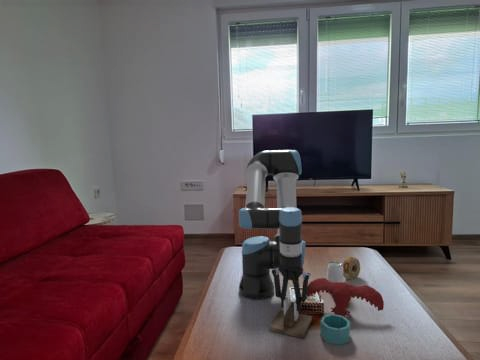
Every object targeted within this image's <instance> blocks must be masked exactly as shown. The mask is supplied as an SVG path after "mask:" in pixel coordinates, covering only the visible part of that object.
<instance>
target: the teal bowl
mask: <svg viewBox="0 0 480 360" xmlns="http://www.w3.org/2000/svg"><path fill="white" fill-rule="evenodd" d="M321 317H322V318H321V320H320V337H321V338H322V339H323V340H325V342H326V343H330V344H333V345H337V346H340V345H344V344H347V343H349V341H350V338H351V321H350V319H347V317H346V318H345V317H344V316H340V315H335V314H334V313H330V314H326V315H325V314H324V315H322V316H321Z"/></svg>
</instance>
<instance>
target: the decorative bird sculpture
mask: <svg viewBox="0 0 480 360" xmlns="http://www.w3.org/2000/svg"><path fill="white" fill-rule="evenodd" d="M320 292H321V293H323V294H324V292H325V293H326V294H330V295H332V298H333V301H334V302H333V303H335V307H330V310H331V313H333V314H335V315H340V316H344V317H345V318H346V319H347V317H346V316H349V314H351V312H350V311H349V310H348V308H349V307H350V306H349V304H350V302H351V300H352V299H355V298H356V299H357V300H358V299H360V300H361V301H363V300H364V299H365V301H366V303H369V304H370V306H374V308H377V311H378V312H380V311H383V310H384V305H385V303H384V302H385V301H384V298H383V296H382V294H381V293H380V292H379V291H377V290H376V289H375V288H374V287H371V286H369V285H367V284H363V285H359V286H358V285H352V284H350V283H347V282H345V281H343V282H330V281H328V280H327V278H325V277H321V278H316V279H313V280H311V281H310V282H308V288H307V297H308V298H310V296H313V295H316V294H317V293H318V294H319V293H320Z"/></svg>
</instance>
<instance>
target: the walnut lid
mask: <svg viewBox="0 0 480 360" xmlns="http://www.w3.org/2000/svg"><path fill="white" fill-rule="evenodd" d="M312 320H313V315H308V314H303V313H300V312H298V319H297V321H294V305H290V306H288V310H287V312H286V314H285V315H284V309H279V311H278V312H277V313H276V315H275V316H274V318H273V320H272V322H271V323H270V325H269V326H268V329H269V331H271V332H274V333H281V334H285V335H286V336H287V335H288V336H292V337H295V338H299V339H303V340H304V339H305V337H306V334H307V332H308V330H309V327H310V325H311V323H312Z"/></svg>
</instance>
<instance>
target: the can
mask: <svg viewBox="0 0 480 360" xmlns="http://www.w3.org/2000/svg"><path fill="white" fill-rule="evenodd" d="M326 271H327V274H326V275H327V277H326V279H327V280H328V281H330V282H344V276H343V263H342V262H340V261H334V260H333V261H330V262H328V265H327V270H326Z"/></svg>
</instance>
